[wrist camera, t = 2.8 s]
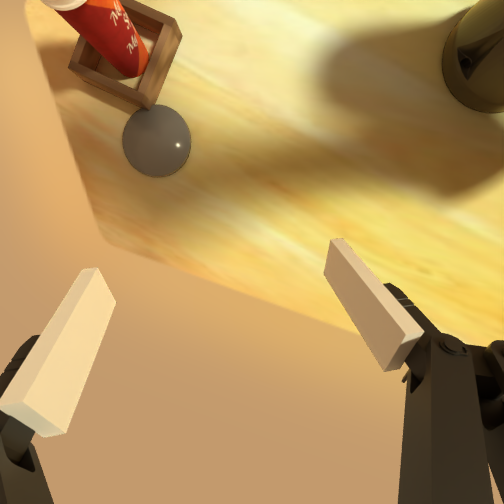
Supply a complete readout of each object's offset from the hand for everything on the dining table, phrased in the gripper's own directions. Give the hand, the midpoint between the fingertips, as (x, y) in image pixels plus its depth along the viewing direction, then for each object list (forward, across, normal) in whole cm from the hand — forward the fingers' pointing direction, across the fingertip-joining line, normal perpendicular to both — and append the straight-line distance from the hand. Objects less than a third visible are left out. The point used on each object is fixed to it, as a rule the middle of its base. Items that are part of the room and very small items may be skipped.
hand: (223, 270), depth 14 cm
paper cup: (+40, -10, +12) cm, 43 cm away
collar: (+40, -10, +12) cm, 43 cm away
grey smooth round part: (+32, -8, +1) cm, 34 cm away
